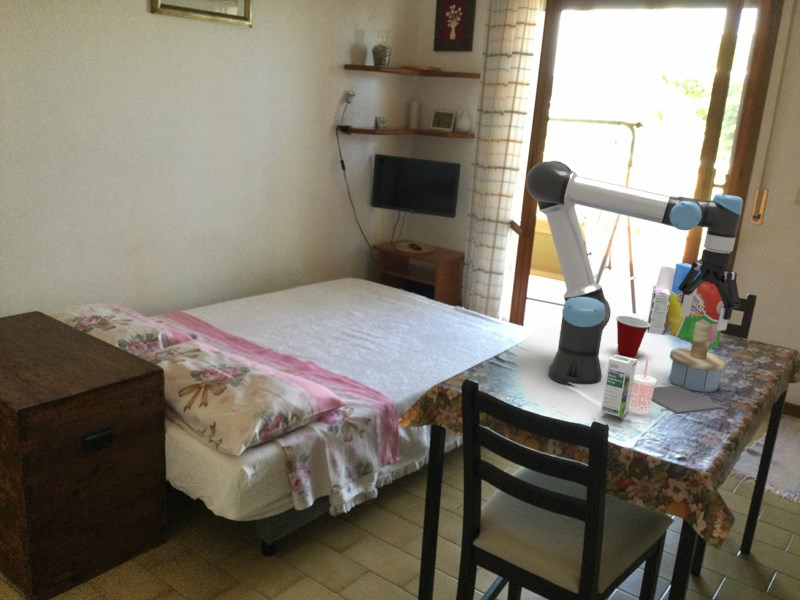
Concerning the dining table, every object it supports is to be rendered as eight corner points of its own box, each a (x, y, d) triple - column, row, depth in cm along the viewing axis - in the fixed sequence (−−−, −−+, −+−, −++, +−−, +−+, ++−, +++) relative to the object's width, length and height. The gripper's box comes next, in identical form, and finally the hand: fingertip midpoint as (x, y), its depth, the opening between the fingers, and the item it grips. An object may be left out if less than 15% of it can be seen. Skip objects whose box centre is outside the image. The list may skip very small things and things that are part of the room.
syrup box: (600, 412, 173) (608, 358, 169) (607, 405, 178) (615, 353, 174) (622, 418, 170) (631, 363, 166) (629, 411, 175) (637, 358, 171)
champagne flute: (658, 326, 262) (668, 266, 257) (670, 331, 256) (681, 269, 251) (644, 327, 260) (654, 266, 254) (657, 332, 254) (667, 269, 248)
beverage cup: (654, 411, 176) (663, 360, 173) (645, 417, 171) (654, 365, 168) (632, 404, 180) (640, 354, 177) (622, 410, 175) (630, 358, 172)
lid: (697, 371, 188) (705, 332, 186) (658, 354, 202) (665, 317, 199) (736, 368, 194) (744, 329, 192) (696, 351, 208) (703, 315, 205)
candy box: (646, 326, 262) (653, 284, 258) (662, 328, 260) (669, 286, 256) (646, 334, 249) (653, 291, 245) (663, 337, 247) (671, 293, 244)
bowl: (693, 393, 191) (697, 370, 190) (659, 377, 203) (663, 355, 201) (727, 390, 196) (731, 367, 195) (692, 374, 208) (696, 353, 206)
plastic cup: (640, 362, 216) (646, 326, 213) (606, 354, 222) (612, 319, 219) (648, 354, 225) (654, 320, 222) (615, 347, 231) (620, 313, 228)
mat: (676, 413, 176) (677, 412, 175) (634, 391, 190) (634, 389, 190) (722, 408, 182) (722, 406, 182) (677, 386, 196) (677, 385, 196)
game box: (662, 335, 251) (675, 263, 245) (673, 334, 253) (686, 263, 247) (706, 352, 233) (721, 275, 226) (718, 352, 235) (733, 275, 228)
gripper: (765, 260, 181) (747, 335, 186) (693, 242, 203) (679, 310, 208) (745, 259, 178) (727, 336, 183) (674, 241, 200) (661, 311, 205)
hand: (702, 322), depth 195 cm, fingers open, 13 cm apart
